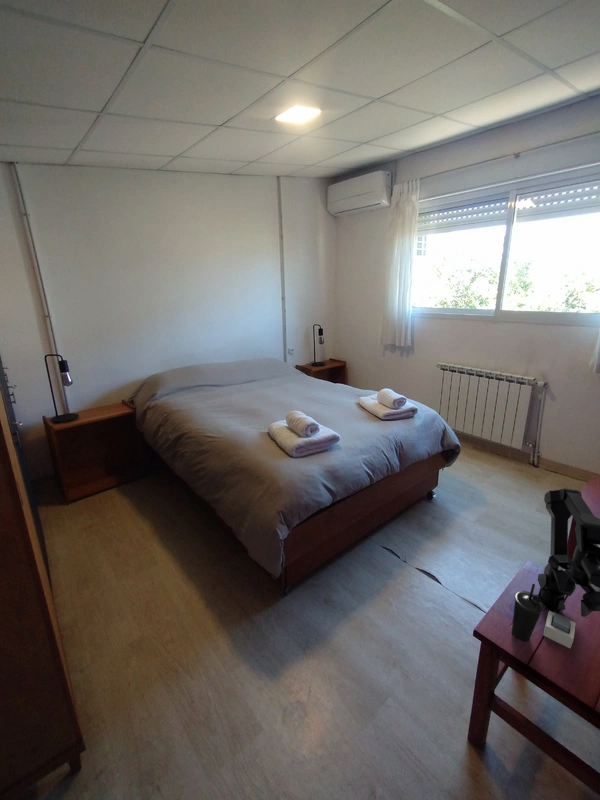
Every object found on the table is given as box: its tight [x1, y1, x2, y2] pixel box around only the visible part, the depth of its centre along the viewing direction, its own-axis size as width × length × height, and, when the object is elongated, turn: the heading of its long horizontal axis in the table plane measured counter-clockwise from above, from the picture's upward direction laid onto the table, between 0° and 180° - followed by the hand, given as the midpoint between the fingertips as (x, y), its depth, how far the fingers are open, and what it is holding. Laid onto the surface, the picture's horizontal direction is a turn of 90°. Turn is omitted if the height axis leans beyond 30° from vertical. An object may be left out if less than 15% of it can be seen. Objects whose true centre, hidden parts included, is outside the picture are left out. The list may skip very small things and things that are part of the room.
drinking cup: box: [511, 583, 545, 643], centre depth 113 cm, size 8×8×20 cm
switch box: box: [542, 610, 576, 649], centre depth 116 cm, size 7×7×4 cm
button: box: [552, 612, 571, 633], centre depth 115 cm, size 4×4×3 cm
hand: (571, 602), depth 112 cm, fingers open, 9 cm apart
